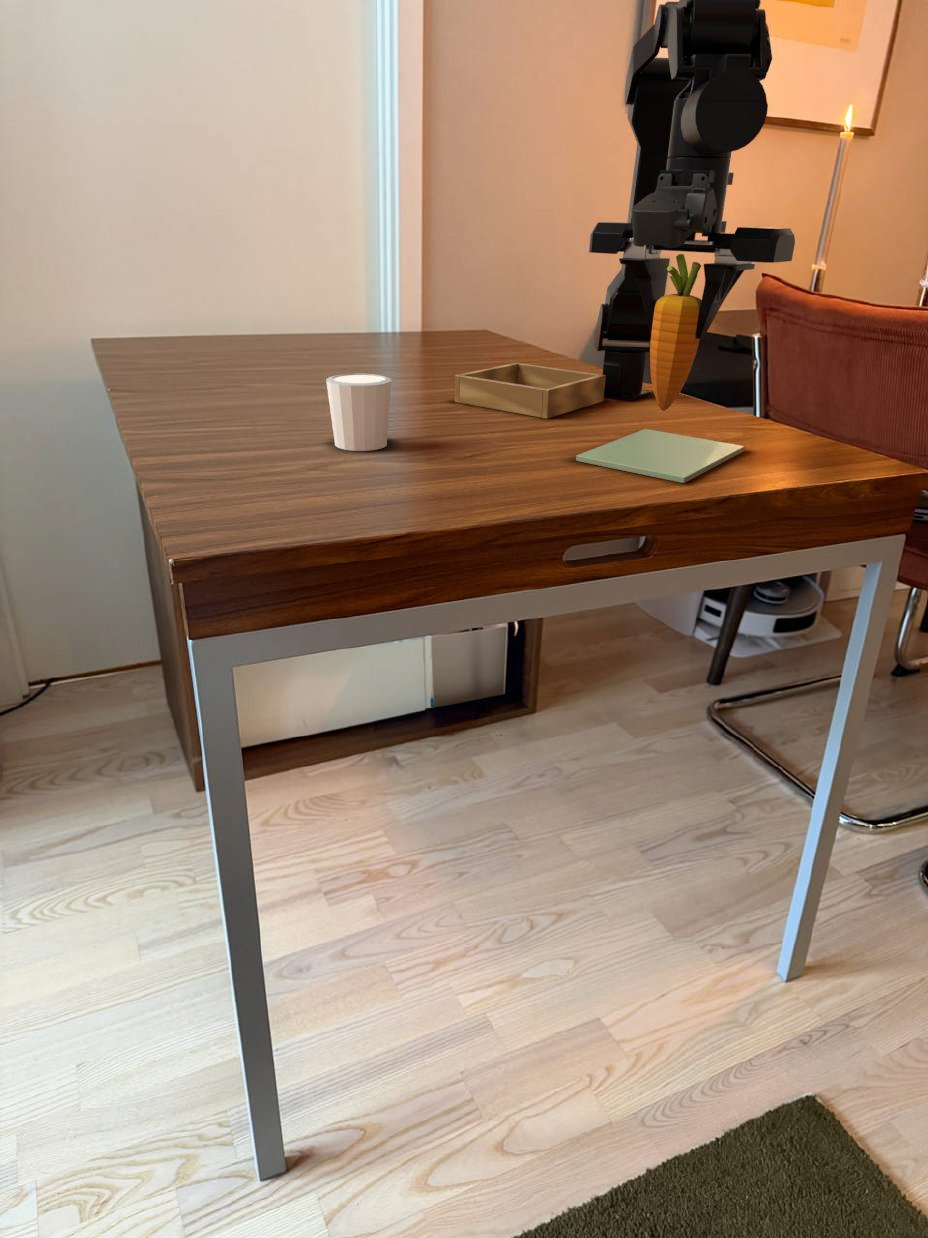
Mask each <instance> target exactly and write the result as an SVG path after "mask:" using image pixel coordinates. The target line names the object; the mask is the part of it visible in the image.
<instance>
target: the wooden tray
mask: <svg viewBox="0 0 928 1238" xmlns="http://www.w3.org/2000/svg"><path fill="white" fill-rule="evenodd" d="M605 379H606V375H602V374H599V373H594V372H593V373H592V372H586V371H578V370H571V369H565V368H558V367H549V366H543V365H536V364H530V363H529V364H528V363H523V362H513V363H508V364H503V365H498V366H494V367H489V368H484V369H479V370H474V371H470V372H465V373H459V374H455V375H454V402H455V403H458V404H463V405H469V406H475V407H480V408H487V409H490V410H498V411H503V412H508V413H513V414H519V415H525V416H528V417H529V416H530V417H536V418H540V419H551V418H554V417H557V416H560V415H563V414H568V413H569V412H574V411H577V410H579V409H583V408H586V407H590V406H592V405H596V404H600V403H602V402H604V398H605V396H604V389H605Z"/></svg>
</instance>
